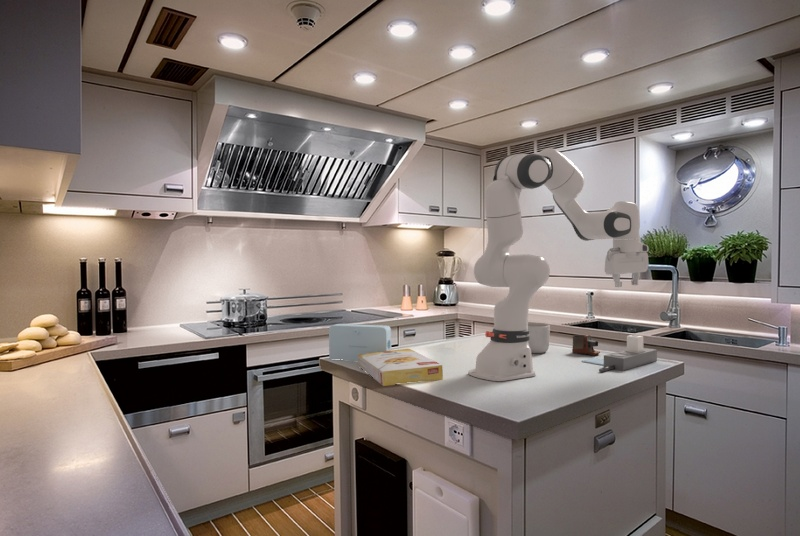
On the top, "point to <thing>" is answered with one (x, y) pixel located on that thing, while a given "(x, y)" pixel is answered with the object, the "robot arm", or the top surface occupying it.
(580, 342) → the electronic device
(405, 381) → the cereal box
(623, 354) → the power strip
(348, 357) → the light blue box
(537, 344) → the planter
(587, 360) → the mat
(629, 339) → the block
